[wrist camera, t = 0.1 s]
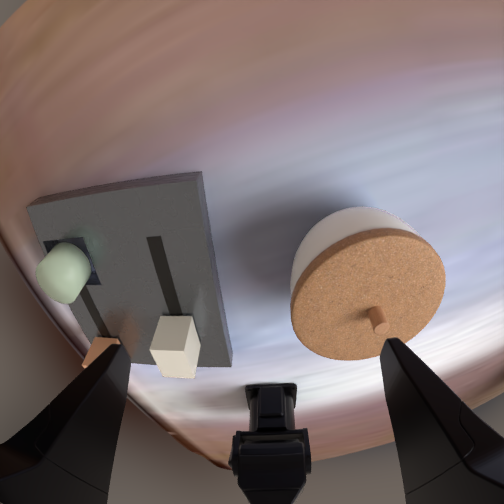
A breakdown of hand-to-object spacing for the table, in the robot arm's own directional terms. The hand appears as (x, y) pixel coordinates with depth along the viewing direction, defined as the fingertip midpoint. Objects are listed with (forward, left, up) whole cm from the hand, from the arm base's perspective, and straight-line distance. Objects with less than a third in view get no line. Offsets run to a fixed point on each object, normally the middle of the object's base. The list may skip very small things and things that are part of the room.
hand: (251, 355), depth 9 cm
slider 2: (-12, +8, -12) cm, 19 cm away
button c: (-4, +17, -13) cm, 21 cm away
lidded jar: (-5, -7, -15) cm, 17 cm away
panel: (-8, +12, -15) cm, 21 cm away
